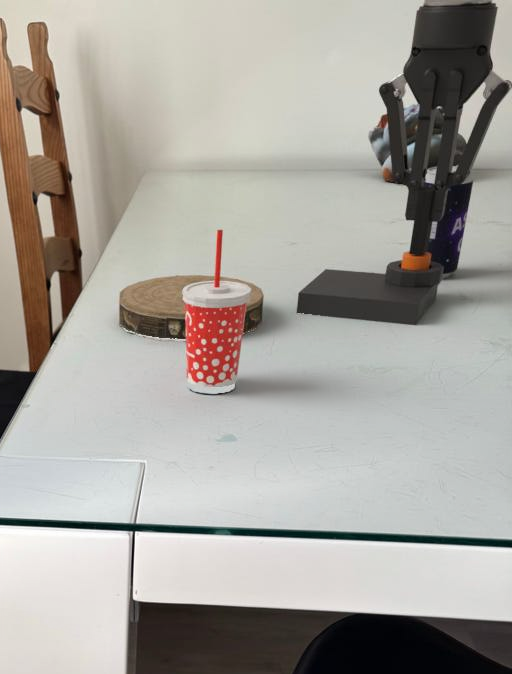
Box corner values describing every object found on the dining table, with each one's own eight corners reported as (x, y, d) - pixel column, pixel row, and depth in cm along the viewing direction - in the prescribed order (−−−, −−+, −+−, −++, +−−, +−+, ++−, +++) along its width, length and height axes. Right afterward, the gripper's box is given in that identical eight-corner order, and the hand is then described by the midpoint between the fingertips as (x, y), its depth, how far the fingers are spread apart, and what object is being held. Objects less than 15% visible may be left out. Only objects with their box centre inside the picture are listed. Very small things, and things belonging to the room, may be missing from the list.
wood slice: (130, 299, 121) (130, 274, 119) (264, 302, 117) (267, 276, 115) (107, 340, 108) (107, 312, 106) (257, 344, 104) (259, 315, 103)
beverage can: (449, 283, 120) (468, 175, 114) (401, 278, 123) (417, 172, 116) (460, 272, 124) (480, 166, 118) (414, 267, 127) (430, 164, 120)
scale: (441, 297, 116) (447, 261, 113) (419, 326, 107) (426, 288, 105) (325, 287, 121) (329, 253, 119) (296, 314, 113) (299, 277, 111)
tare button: (431, 267, 113) (433, 251, 112) (425, 274, 111) (428, 257, 110) (403, 265, 115) (406, 249, 114) (398, 272, 112) (400, 256, 111)
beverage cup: (191, 372, 98) (197, 221, 91) (252, 379, 96) (264, 224, 88) (169, 393, 94) (174, 235, 86) (232, 401, 91) (243, 239, 84)
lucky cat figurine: (381, 185, 172) (365, 102, 171) (378, 202, 184) (363, 124, 182) (473, 155, 168) (458, 70, 166) (464, 175, 179) (450, 95, 178)
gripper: (381, 6, 99) (351, 255, 112) (524, 0, 93) (474, 263, 106) (398, 2, 104) (367, 240, 117) (534, -3, 98) (486, 248, 112)
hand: (418, 251), depth 112 cm, fingers closed
